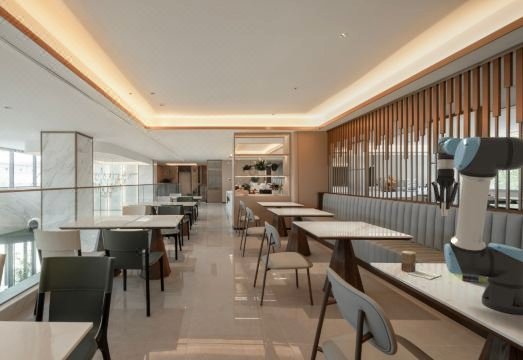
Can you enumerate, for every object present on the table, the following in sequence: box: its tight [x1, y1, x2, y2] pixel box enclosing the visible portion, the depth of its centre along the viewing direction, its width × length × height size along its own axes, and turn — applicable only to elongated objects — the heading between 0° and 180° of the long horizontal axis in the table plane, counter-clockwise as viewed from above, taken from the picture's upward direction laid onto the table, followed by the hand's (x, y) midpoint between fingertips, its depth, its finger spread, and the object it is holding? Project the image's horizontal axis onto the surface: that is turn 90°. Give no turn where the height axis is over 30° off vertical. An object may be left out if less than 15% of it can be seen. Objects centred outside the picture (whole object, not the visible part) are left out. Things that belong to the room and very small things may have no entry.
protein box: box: [454, 274, 487, 284], centre depth 163 cm, size 10×15×16 cm
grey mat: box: [407, 269, 442, 280], centre depth 165 cm, size 12×11×1 cm
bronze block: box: [400, 250, 417, 273], centre depth 171 cm, size 5×5×10 cm
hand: (444, 215), depth 163 cm, fingers closed
